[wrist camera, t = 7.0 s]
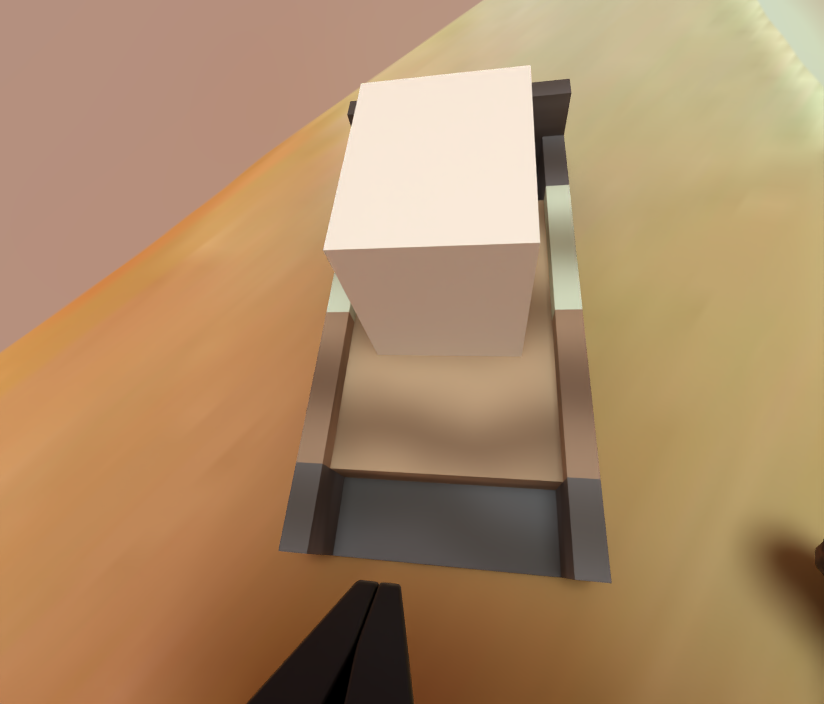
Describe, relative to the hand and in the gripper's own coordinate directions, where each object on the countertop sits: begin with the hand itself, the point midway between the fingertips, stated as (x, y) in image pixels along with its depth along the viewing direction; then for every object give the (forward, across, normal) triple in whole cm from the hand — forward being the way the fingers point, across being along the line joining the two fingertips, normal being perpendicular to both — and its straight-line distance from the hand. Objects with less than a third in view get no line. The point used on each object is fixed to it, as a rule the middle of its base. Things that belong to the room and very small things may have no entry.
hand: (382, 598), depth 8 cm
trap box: (+17, 0, 0) cm, 17 cm away
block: (+17, 0, -3) cm, 17 cm away
